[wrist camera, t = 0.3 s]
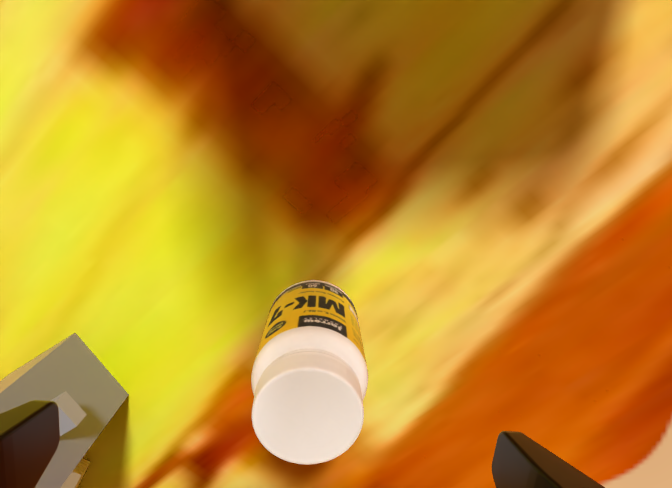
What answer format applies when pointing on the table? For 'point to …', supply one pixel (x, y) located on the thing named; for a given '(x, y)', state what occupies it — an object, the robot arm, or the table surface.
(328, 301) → the supplement bottle
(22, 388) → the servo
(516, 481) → the robot arm
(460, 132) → the table surface
